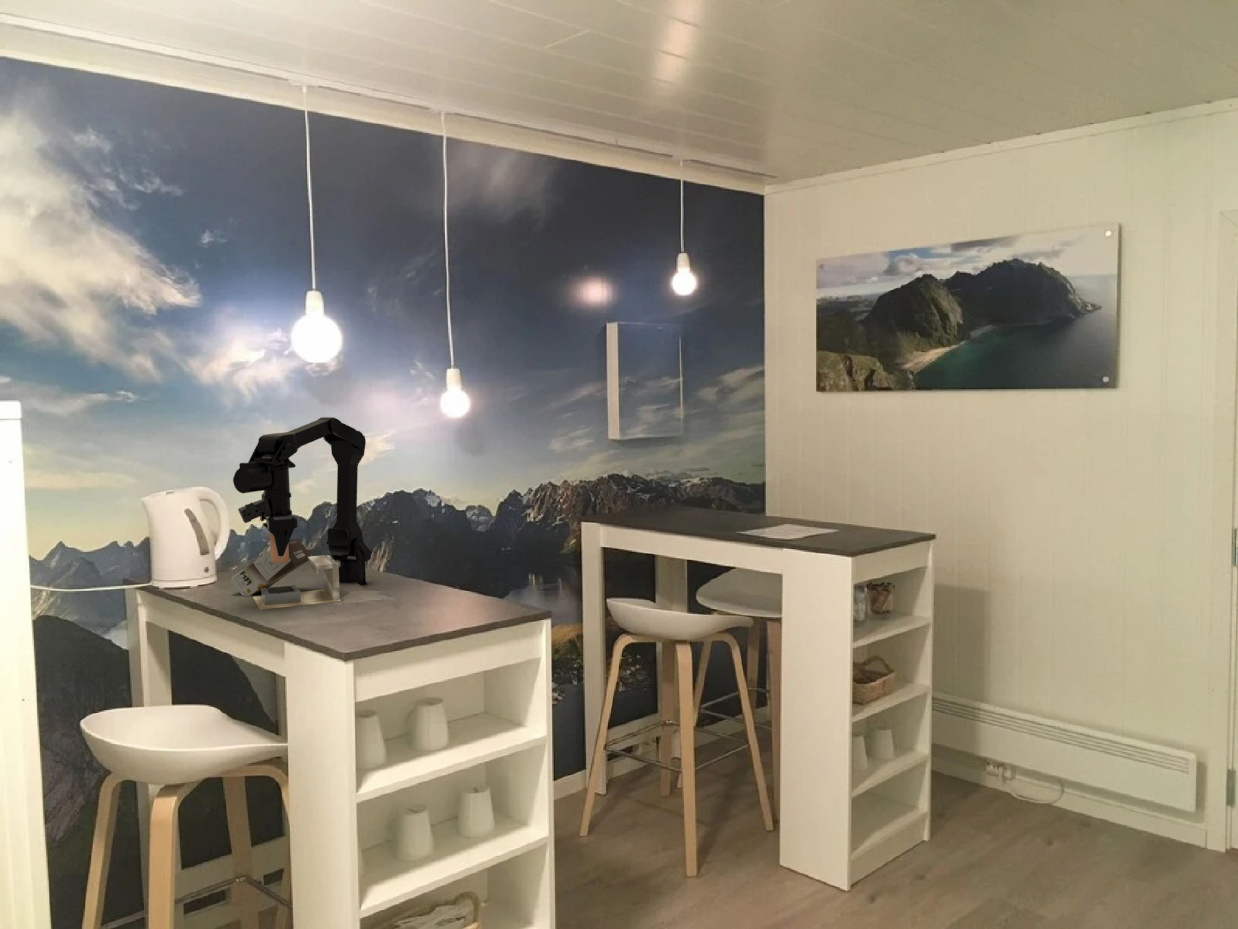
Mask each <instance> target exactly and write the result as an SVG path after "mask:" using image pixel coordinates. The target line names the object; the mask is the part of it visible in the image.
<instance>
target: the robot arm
mask: <svg viewBox="0 0 1238 929" xmlns="http://www.w3.org/2000/svg"><path fill="white" fill-rule="evenodd" d="M322 438H323V440H324V442H326V443H327V444H328V445H329V446H330V449H331V456H332V457H333V459H334V461H335V463H336V466H337V473H336V475H337V478H336V479H337V480H336V515H335V516H336V518H335V519H336V520H335V522H334V524H333V526H332V527H328V529H327V541H326V544H327V546H328V550H329V553H330V556H331V557H332V558H333V559H334V560H335V561H336V562H337V563H338V567H339V584H340V583H341V584H343V583H344V584H345V583H349V584H350V583H353V584H354V583H357V584H358V585H359V586H363V585H364V586H365V585H368V581H367V580H366V579H367V576H366V575H367V574H366V573H367V572H366V570H367V569H366V563H367V562H368V561H371V559H372V552H373V551H372V550H371V549H370V548H369V547H368V545H366V544H365V542H364V536H363V535H364V534H363V531H362V528H361V526H360V525H359V523H358V522H357V520H358V519H357V517H358V516H357V515H358V512H357V511H358V510H357V509H358V508H357V507H358V476H359V475H358V472H359V470H358V468H359V465H360V463H361V461H362V459H363V458H364V456H365V450H366V444H367V443H366V437H365V435H364V434H363V433H362V432H361V431H360V430H357V429H356V428H355V427H352V426H350V425H348V424H346V423H343V422H342V421H341V420H339V419H338V418H336V417H334V416H333V417H327V416H326V417H323V416H322V417H319V418H318V419H317V420H314V421H311V422H308V423H306V424H305V425H302V426H299V427H297V428H294V429H292V430H289V431H286V432H276V433H269V434H268V433H266V434H262V435H261V436H260V437H259V438H258V442H257V443H256V446H255V448H254V450H253V452H252V454H251V456H250V458H249V460H248V461H247V462H239V468H238V469H236V471H235V472H234V476H233V479H232V482H233V486H234V488H235V489H236V491H237V492H238V493H241V494H249V493H256V492H262V491H263V492H262V494H261V499H259V500H256V501H254V502H252V501H251V502H249V503H246V504H245V505H243V506H241V507H239V508H238V509H237V510H238V513H239V515H240V516H241V519H242V521H243V523H245V524H247V523H250V522H251V521H252V520H255V519H257V518H259V521H260V522H262V526H263V527H265V529H266V530H267V531H268V532H269V533H270V532H271V533H272V534H273V535H274V540H275V544H276V548H277V552H278V556H284V553H285V551H286V548H287V545H288V543H289V540H291V538H292V535H293V532H294V530H296V529H297V528H298V527H299V526H298V519H297V518H296V517H295V516H294V515H293V510H292V509H291V508H292V507H291V498H292V492H291V490H290V489H291V488H290V470H289V469H293V468H296V466H297V465H296V463H294V462H292V461H291V460H290V458H292V457H293V456H294V455H295V454H296V453H297V452H298V450H299V449H300V448H301V447H303V446H306V445H308V444H310V443H312V442H313V443H314V442H315V441H317V440H320V439H322ZM264 521H265V522H264ZM263 522H264V523H263Z"/></svg>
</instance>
